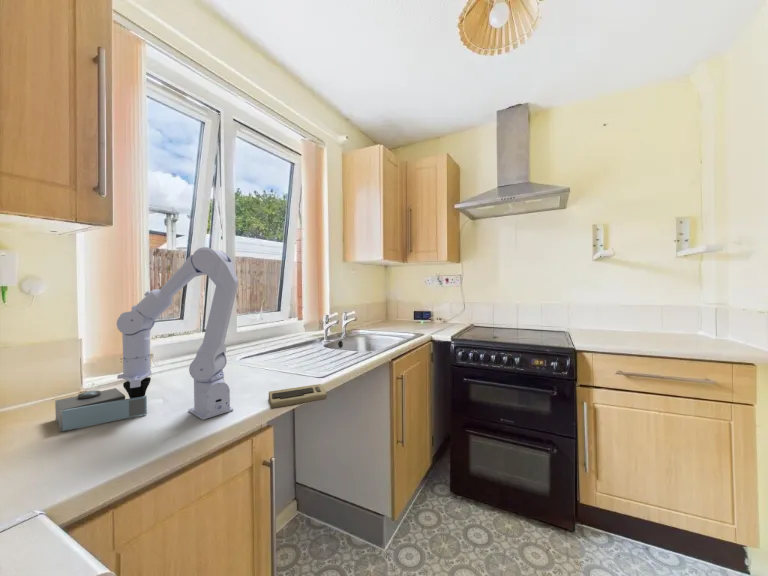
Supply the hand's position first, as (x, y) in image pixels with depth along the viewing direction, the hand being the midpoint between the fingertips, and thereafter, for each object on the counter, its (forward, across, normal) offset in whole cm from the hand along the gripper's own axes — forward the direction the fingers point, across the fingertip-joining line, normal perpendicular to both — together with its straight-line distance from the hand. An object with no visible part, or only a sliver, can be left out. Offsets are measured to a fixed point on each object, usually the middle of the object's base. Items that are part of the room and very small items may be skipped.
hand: (137, 407), depth 84 cm
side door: (+2, +2, -6) cm, 7 cm away
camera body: (+2, -5, -10) cm, 11 cm away
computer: (+3, +14, +38) cm, 41 cm away
